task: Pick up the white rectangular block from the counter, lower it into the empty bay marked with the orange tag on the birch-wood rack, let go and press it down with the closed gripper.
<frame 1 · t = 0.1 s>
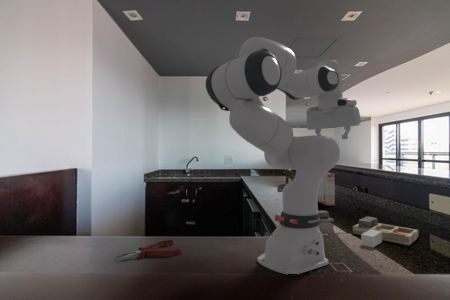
hand: (332, 139, 100), 39 cm above the table, tool pointing down, fingers open, 8 cm apart
packaged product: (312, 221, 130), on the table
rack: (384, 235, 104), on the table
white rectangular block: (372, 243, 95), on the table
cracker box: (326, 204, 172), on the table
pliers: (150, 254, 88), on the table
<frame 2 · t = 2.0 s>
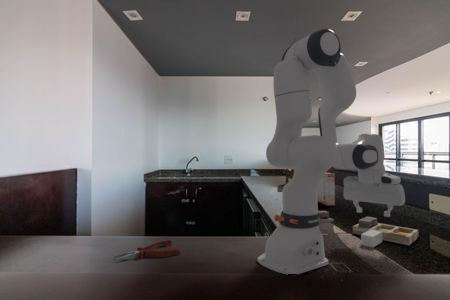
hand: (372, 214, 96), 11 cm above the table, tool pointing down, fingers open, 8 cm apart
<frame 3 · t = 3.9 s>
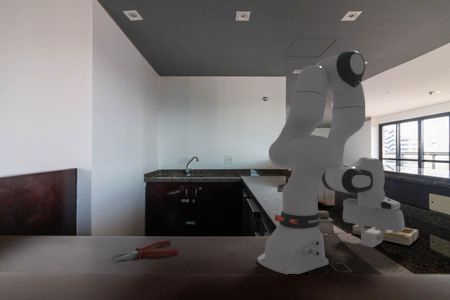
hand: (371, 238, 95), 2 cm above the table, tool pointing down, fingers closed on white rectangular block, 4 cm apart
white rectangular block: (371, 243, 95), on the table, touching gripper
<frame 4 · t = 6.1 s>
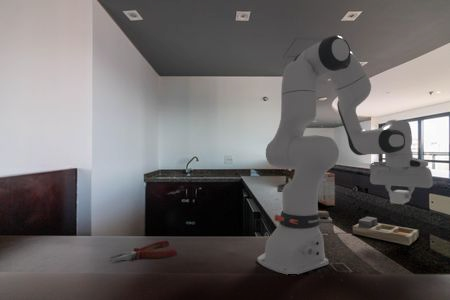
hand: (399, 197, 99), 16 cm above the table, tool pointing down, fingers closed on white rectangular block, 4 cm apart
white rectangular block: (400, 201, 99), point 14 cm above the table, touching gripper
when the fingers open (4 cm above the table, at t = 8.6 s): white rectangular block stays where it is, resting on rack.
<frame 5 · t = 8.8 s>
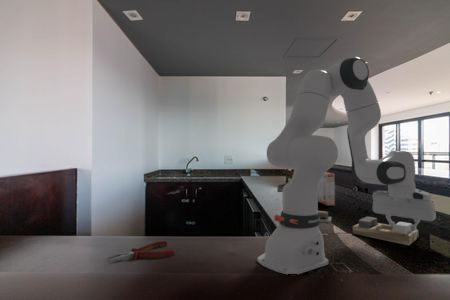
hand: (402, 228, 99), 4 cm above the table, tool pointing down, fingers open, 6 cm apart
white rectangular block: (402, 234, 99), point 2 cm above the table, touching rack
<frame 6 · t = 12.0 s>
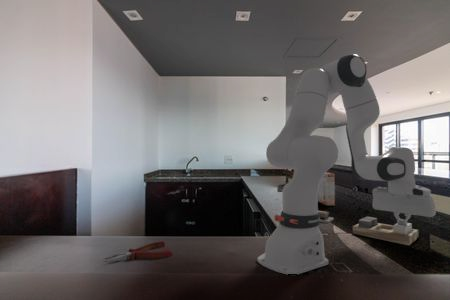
hand: (402, 224, 99), 6 cm above the table, tool pointing down, fingers closed, pressing on white rectangular block
white rectangular block: (402, 234, 99), point 2 cm above the table, touching gripper, rack
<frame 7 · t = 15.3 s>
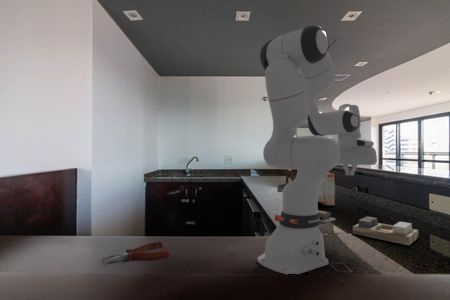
hand: (349, 175, 109), 24 cm above the table, tool pointing down, fingers closed
white rectangular block: (402, 234, 99), point 2 cm above the table, touching rack
at the end: white rectangular block 0.0 cm from the target spot on the rack, point 1.6 cm above the rack's base; white rectangular block tilted 0°; the gripper is holding nothing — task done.
